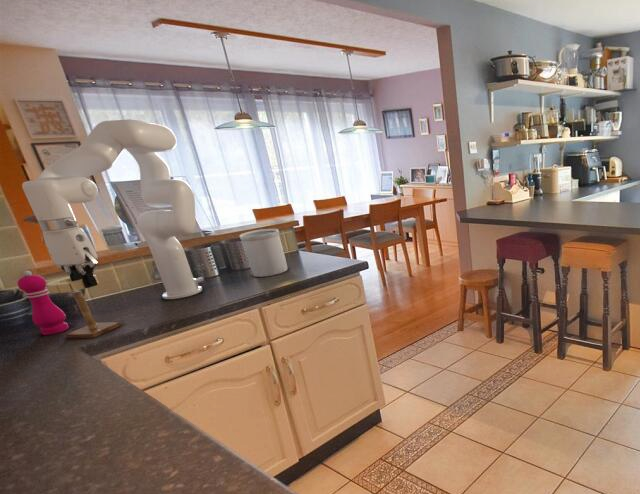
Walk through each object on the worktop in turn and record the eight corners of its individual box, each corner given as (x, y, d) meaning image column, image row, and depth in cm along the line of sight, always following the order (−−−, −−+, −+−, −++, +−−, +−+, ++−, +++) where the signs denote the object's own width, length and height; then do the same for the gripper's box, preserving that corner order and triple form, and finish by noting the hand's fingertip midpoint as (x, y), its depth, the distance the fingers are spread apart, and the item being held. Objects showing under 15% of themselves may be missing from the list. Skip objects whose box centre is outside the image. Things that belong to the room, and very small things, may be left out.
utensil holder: (262, 279, 179) (250, 237, 173) (244, 275, 187) (232, 234, 181) (295, 269, 191) (285, 229, 184) (277, 266, 198) (266, 227, 192)
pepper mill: (51, 336, 134) (20, 274, 127) (33, 335, 136) (1, 274, 128) (77, 326, 141) (49, 267, 133) (60, 326, 142) (31, 267, 135)
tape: (77, 282, 136) (73, 274, 135) (108, 281, 134) (104, 273, 133) (39, 293, 126) (35, 285, 125) (72, 292, 124) (68, 284, 124)
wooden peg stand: (96, 325, 140) (78, 287, 135) (121, 325, 139) (104, 286, 134) (67, 338, 132) (47, 297, 127) (93, 337, 131) (74, 296, 126)
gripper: (97, 221, 125) (122, 281, 132) (48, 223, 127) (75, 283, 134) (71, 226, 118) (98, 290, 125) (19, 229, 120) (49, 291, 127)
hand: (86, 286), depth 129 cm, fingers closed on tape, 2 cm apart
